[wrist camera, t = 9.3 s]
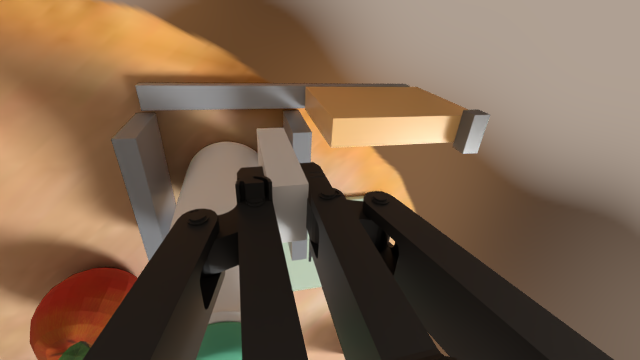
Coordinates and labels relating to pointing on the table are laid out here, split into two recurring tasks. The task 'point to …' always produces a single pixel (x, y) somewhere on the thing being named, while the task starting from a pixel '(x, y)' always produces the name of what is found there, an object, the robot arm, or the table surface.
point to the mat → (305, 266)
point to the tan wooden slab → (392, 117)
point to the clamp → (143, 131)
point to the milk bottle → (220, 196)
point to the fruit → (77, 313)
